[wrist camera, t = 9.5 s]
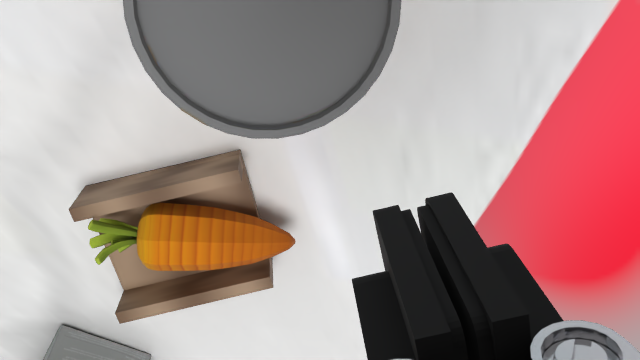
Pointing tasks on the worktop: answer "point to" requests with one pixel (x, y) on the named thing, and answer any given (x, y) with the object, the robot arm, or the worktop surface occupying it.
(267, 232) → the carrot
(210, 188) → the walnut U-rest
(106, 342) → the skincare box
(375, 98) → the worktop surface
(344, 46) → the reusable coffee cup
